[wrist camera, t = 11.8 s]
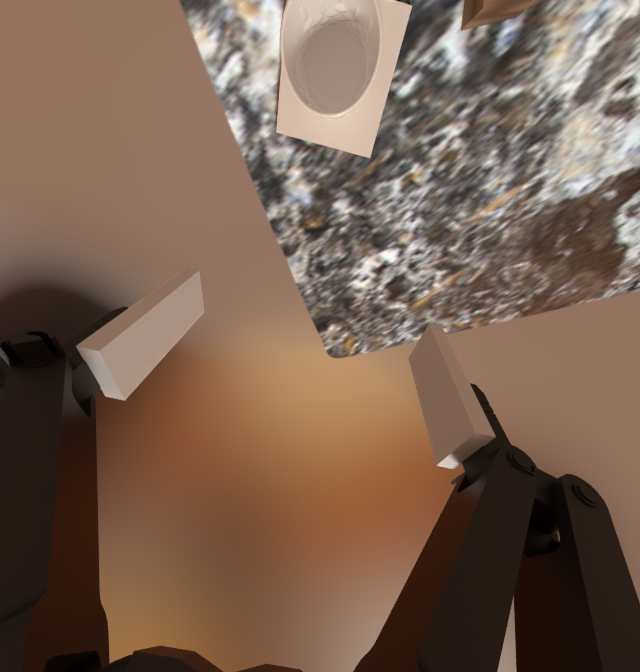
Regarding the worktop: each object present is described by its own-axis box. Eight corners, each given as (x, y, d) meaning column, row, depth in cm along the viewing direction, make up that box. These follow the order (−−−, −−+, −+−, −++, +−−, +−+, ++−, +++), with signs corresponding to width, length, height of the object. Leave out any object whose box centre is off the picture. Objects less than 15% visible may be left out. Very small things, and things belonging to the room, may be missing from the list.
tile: (410, 10, 24) (412, 5, 23) (369, 157, 31) (369, 158, 30) (290, -28, 23) (289, -34, 22) (278, 132, 30) (276, 132, 30)
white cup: (286, 92, 27) (262, 69, 20) (326, -4, 23) (316, -83, 15) (342, 142, 30) (340, 139, 22) (387, 62, 25) (406, 23, 18)
